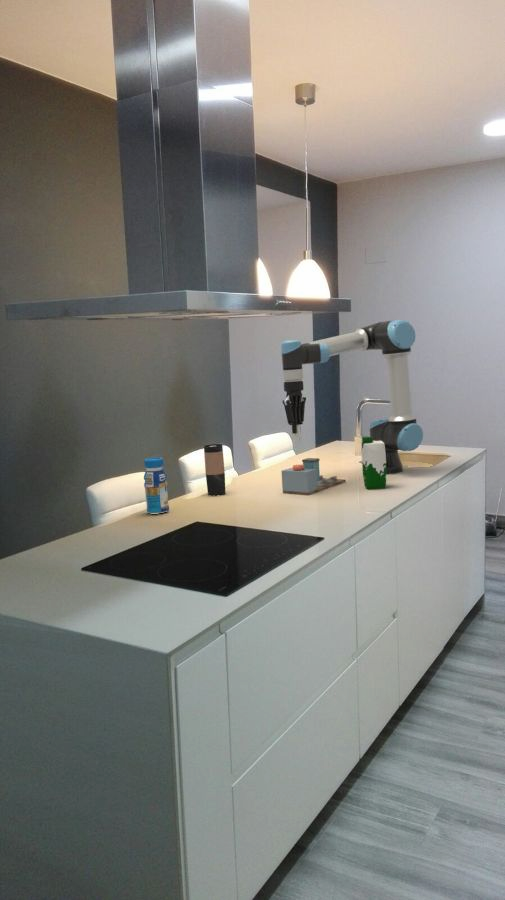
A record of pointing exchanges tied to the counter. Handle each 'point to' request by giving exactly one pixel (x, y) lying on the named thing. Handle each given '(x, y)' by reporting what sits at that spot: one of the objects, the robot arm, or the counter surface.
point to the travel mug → (214, 469)
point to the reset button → (298, 467)
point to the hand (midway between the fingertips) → (297, 441)
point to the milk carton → (373, 463)
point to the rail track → (321, 485)
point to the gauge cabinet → (299, 480)
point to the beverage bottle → (155, 486)
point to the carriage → (312, 465)
